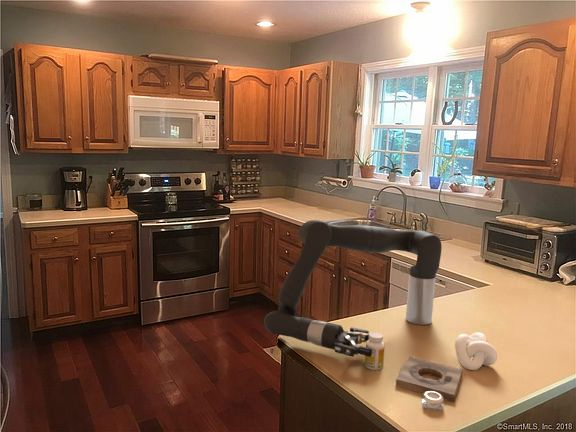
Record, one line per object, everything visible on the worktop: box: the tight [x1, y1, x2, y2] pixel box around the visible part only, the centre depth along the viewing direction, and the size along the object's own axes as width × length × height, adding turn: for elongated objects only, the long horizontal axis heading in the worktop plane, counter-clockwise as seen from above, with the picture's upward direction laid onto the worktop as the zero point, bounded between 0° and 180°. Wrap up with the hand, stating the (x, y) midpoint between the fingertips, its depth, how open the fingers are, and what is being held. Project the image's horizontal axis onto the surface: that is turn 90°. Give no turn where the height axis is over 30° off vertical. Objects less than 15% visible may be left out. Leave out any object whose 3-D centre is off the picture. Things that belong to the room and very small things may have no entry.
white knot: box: [454, 331, 498, 371], centre depth 136 cm, size 11×12×9 cm
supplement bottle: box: [364, 331, 386, 371], centre depth 134 cm, size 5×5×10 cm
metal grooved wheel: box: [421, 391, 445, 413], centre depth 115 cm, size 5×3×5 cm
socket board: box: [395, 355, 463, 403], centre depth 127 cm, size 15×15×2 cm
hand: (376, 347), depth 133 cm, fingers open, 8 cm apart
